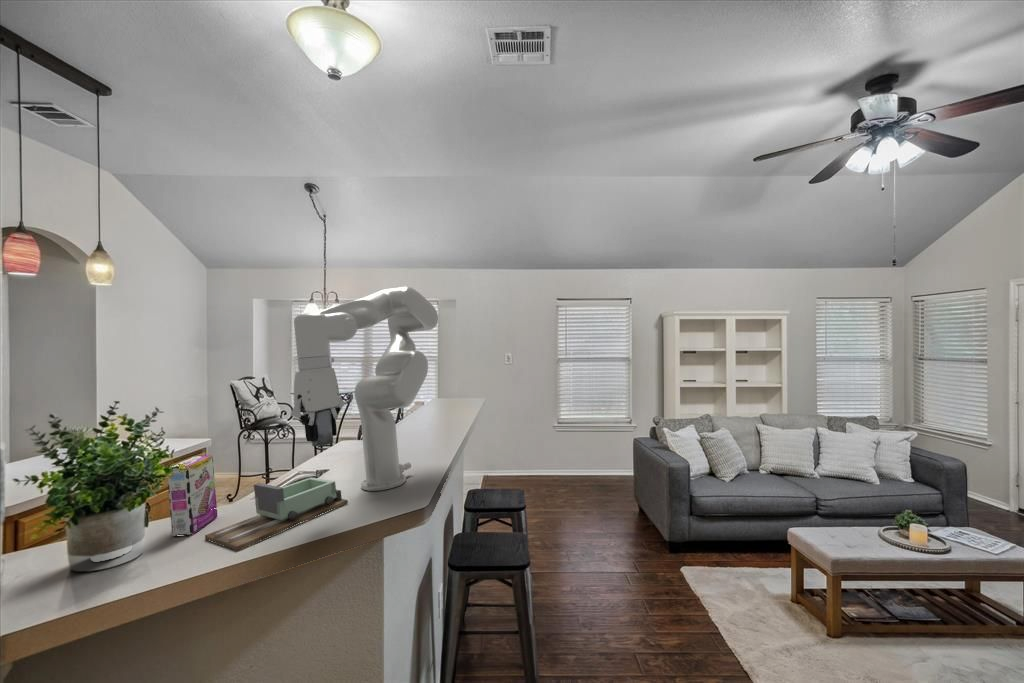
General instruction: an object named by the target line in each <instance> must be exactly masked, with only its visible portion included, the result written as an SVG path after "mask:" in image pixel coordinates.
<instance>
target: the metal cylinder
mask: <svg viewBox="0 0 1024 683" xmlns="http://www.w3.org/2000/svg"><path fill="white" fill-rule="evenodd" d="M313 425H316V430H317V441H315V442H311V446H312V447H323V446H326V445H327V446H328V445H330V444H333V443H334V442H335V441H334V436H333V430H332V419H331V410H330V409H326V410H322V411H318V412H315V417H314V423H313Z"/></svg>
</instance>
